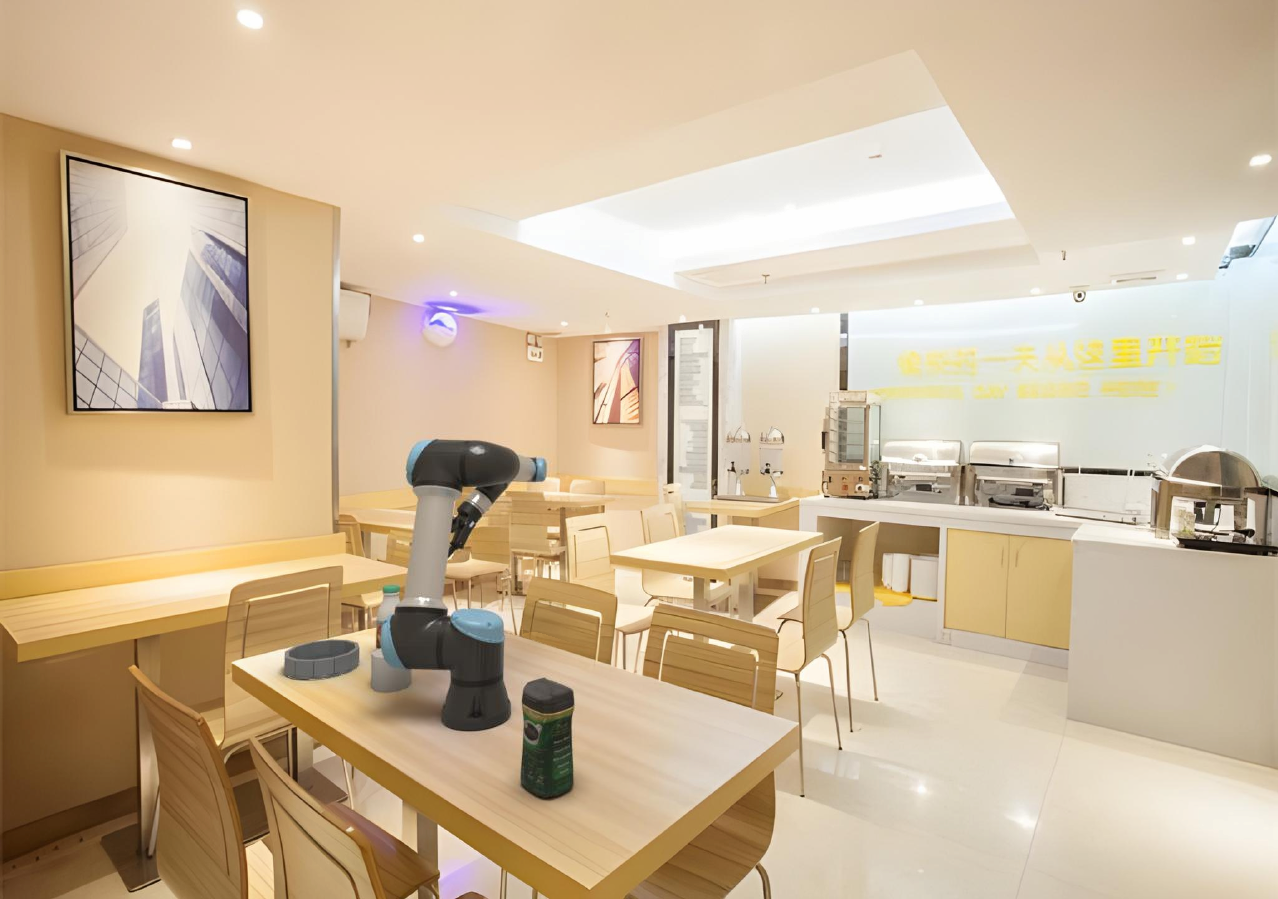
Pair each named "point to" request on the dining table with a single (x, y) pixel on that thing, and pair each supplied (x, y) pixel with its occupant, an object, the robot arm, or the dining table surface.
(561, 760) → the coffee jar
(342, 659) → the bowl
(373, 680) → the toilet tissue
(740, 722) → the dining table surface
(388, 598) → the milk bottle
